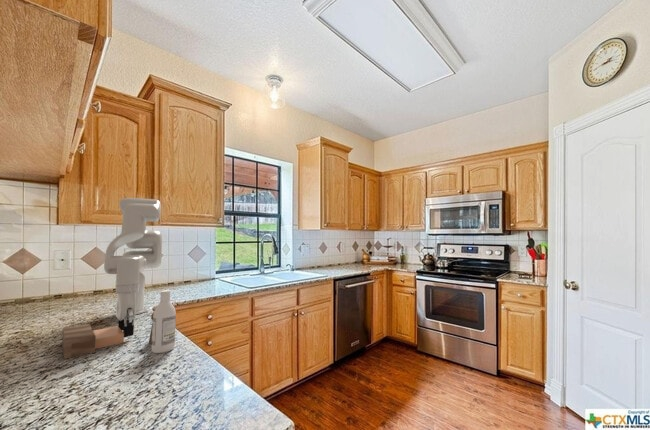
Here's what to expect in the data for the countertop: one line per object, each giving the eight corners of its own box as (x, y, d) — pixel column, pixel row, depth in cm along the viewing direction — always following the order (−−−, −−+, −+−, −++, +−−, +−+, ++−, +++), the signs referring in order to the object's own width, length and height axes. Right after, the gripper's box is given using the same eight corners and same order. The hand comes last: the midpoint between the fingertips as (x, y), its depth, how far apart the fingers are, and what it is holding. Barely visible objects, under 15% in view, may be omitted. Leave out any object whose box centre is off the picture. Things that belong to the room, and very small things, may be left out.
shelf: (61, 343, 103) (62, 328, 103) (88, 337, 108) (89, 323, 108) (64, 358, 89) (65, 341, 90) (94, 351, 95) (95, 335, 95)
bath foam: (178, 345, 100) (180, 288, 102) (167, 353, 93) (170, 292, 95) (158, 345, 100) (161, 289, 101) (146, 353, 93) (149, 292, 94)
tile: (84, 341, 104) (84, 332, 105) (117, 334, 112) (117, 326, 112) (88, 351, 96) (88, 340, 96) (123, 342, 103) (123, 333, 103)
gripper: (111, 287, 113) (109, 330, 112) (120, 293, 101) (117, 341, 100) (133, 284, 119) (131, 325, 117) (144, 290, 107) (142, 336, 105)
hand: (125, 333), depth 109 cm, fingers open, 9 cm apart
